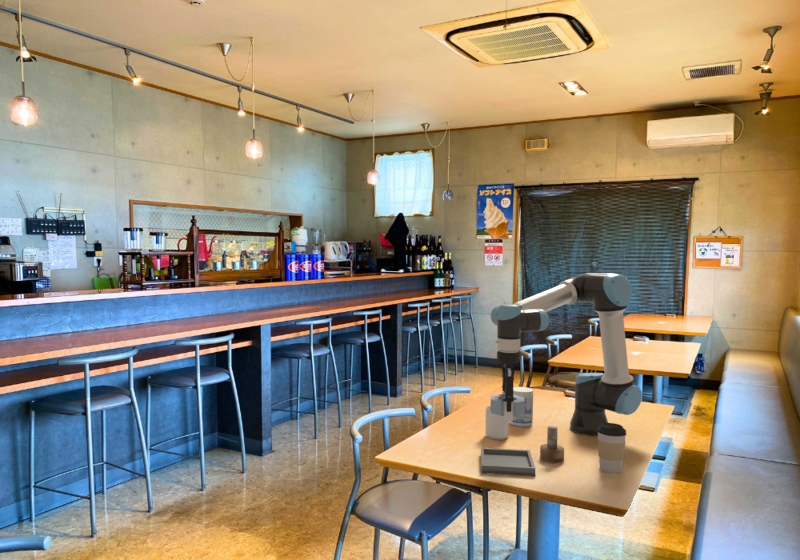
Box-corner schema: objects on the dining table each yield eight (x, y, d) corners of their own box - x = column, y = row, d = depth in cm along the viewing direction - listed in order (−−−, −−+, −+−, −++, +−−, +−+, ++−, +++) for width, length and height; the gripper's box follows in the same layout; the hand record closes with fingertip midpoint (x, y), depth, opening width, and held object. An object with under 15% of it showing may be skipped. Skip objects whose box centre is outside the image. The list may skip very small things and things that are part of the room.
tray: (529, 457, 196) (529, 450, 196) (535, 476, 179) (535, 468, 179) (480, 454, 198) (480, 447, 198) (481, 473, 181) (481, 465, 181)
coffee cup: (591, 464, 189) (592, 420, 189) (617, 463, 190) (618, 420, 189) (603, 475, 180) (604, 429, 180) (630, 474, 181) (631, 428, 180)
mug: (501, 442, 212) (501, 412, 211) (481, 437, 217) (481, 408, 217) (516, 434, 221) (516, 406, 221) (496, 429, 227) (496, 402, 226)
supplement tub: (517, 428, 229) (518, 392, 228) (504, 422, 237) (505, 387, 237) (537, 425, 232) (538, 390, 232) (523, 419, 241) (524, 385, 241)
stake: (561, 455, 198) (562, 424, 197) (565, 463, 190) (566, 431, 189) (538, 454, 199) (539, 423, 198) (541, 462, 191) (542, 430, 190)
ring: (522, 408, 192) (522, 395, 192) (525, 417, 181) (525, 403, 181) (490, 406, 194) (490, 393, 194) (491, 415, 183) (491, 401, 183)
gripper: (495, 345, 199) (494, 406, 200) (498, 356, 176) (497, 425, 177) (516, 345, 198) (515, 407, 199) (523, 357, 175) (521, 426, 176)
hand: (507, 415), depth 188 cm, fingers closed on ring, 11 cm apart
